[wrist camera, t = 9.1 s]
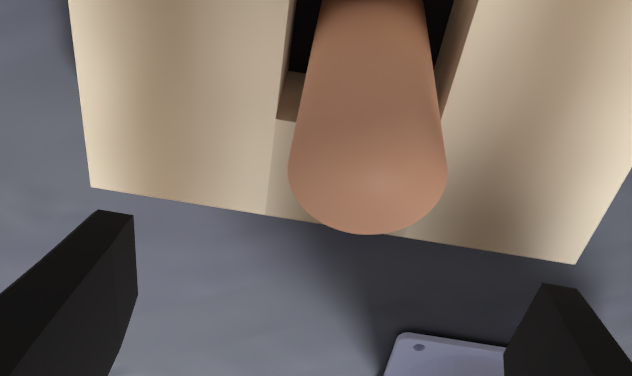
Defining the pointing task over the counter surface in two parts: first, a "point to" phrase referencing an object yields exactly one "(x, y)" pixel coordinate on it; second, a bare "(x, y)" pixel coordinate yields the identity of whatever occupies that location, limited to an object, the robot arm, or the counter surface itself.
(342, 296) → the counter surface
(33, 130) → the counter surface
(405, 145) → the peg
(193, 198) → the socket block
